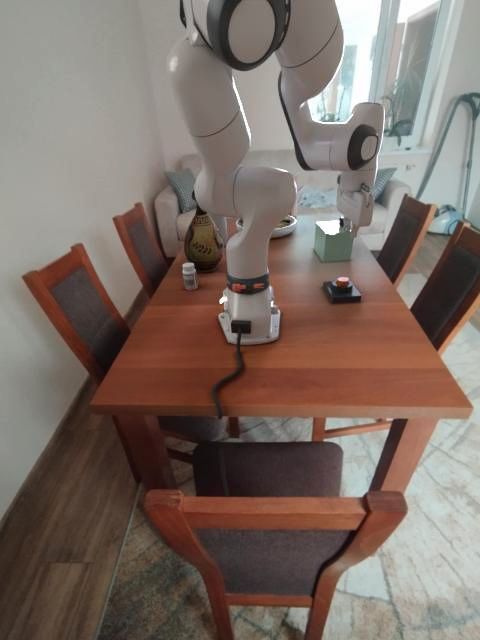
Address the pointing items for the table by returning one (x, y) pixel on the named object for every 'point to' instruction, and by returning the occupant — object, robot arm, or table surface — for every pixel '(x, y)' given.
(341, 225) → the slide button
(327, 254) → the pale green box
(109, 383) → the table surface
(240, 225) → the bowl
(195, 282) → the pill bottle
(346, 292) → the black button base
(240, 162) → the robot arm
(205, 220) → the ceramic jug
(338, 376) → the table surface
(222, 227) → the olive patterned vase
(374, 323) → the table surface
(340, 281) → the button
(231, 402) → the table surface
